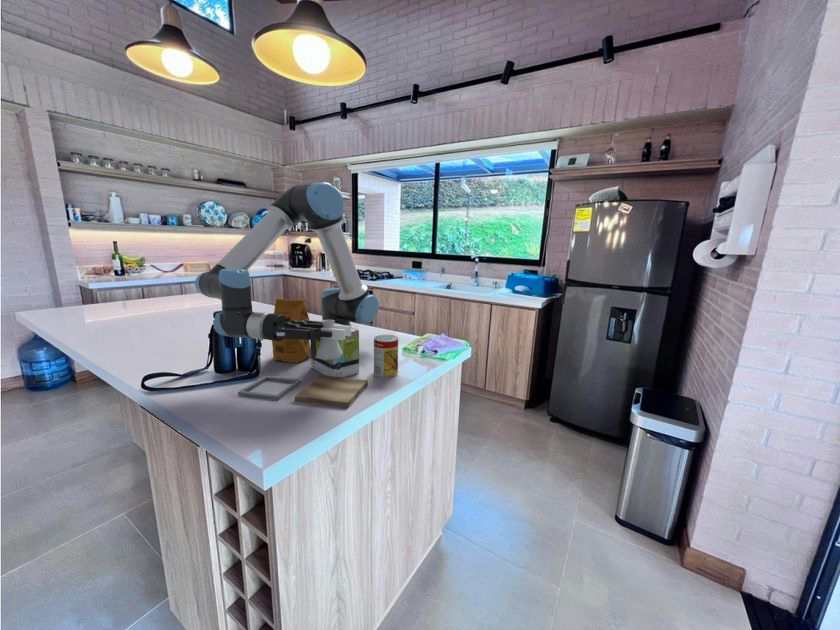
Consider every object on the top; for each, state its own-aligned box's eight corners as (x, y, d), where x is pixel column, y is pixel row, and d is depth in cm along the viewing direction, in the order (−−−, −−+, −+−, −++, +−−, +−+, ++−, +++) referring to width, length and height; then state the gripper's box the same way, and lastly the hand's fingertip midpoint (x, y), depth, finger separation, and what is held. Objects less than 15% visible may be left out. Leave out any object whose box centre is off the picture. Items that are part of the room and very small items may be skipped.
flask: (310, 359, 88) (309, 323, 86) (322, 351, 95) (321, 317, 93) (336, 361, 87) (335, 324, 85) (346, 353, 94) (346, 318, 92)
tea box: (360, 373, 108) (360, 329, 105) (333, 381, 101) (331, 334, 98) (336, 361, 119) (335, 321, 116) (310, 367, 112) (308, 325, 109)
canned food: (402, 372, 110) (403, 337, 107) (387, 379, 103) (388, 342, 101) (384, 367, 114) (384, 333, 112) (368, 373, 108) (368, 338, 105)
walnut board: (321, 379, 102) (321, 375, 101) (367, 384, 99) (367, 380, 99) (294, 401, 87) (294, 396, 87) (347, 407, 85) (347, 402, 84)
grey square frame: (266, 378, 101) (265, 375, 101) (301, 382, 99) (301, 379, 99) (238, 395, 90) (237, 392, 90) (277, 400, 88) (277, 396, 87)
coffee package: (284, 352, 126) (281, 295, 122) (314, 355, 124) (312, 297, 119) (267, 361, 117) (263, 299, 112) (299, 364, 114) (296, 301, 110)
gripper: (286, 332, 101) (359, 338, 97) (250, 347, 86) (334, 355, 81) (285, 308, 100) (358, 313, 95) (247, 319, 84) (333, 326, 80)
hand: (347, 332), depth 88 cm, fingers closed on flask, 3 cm apart
